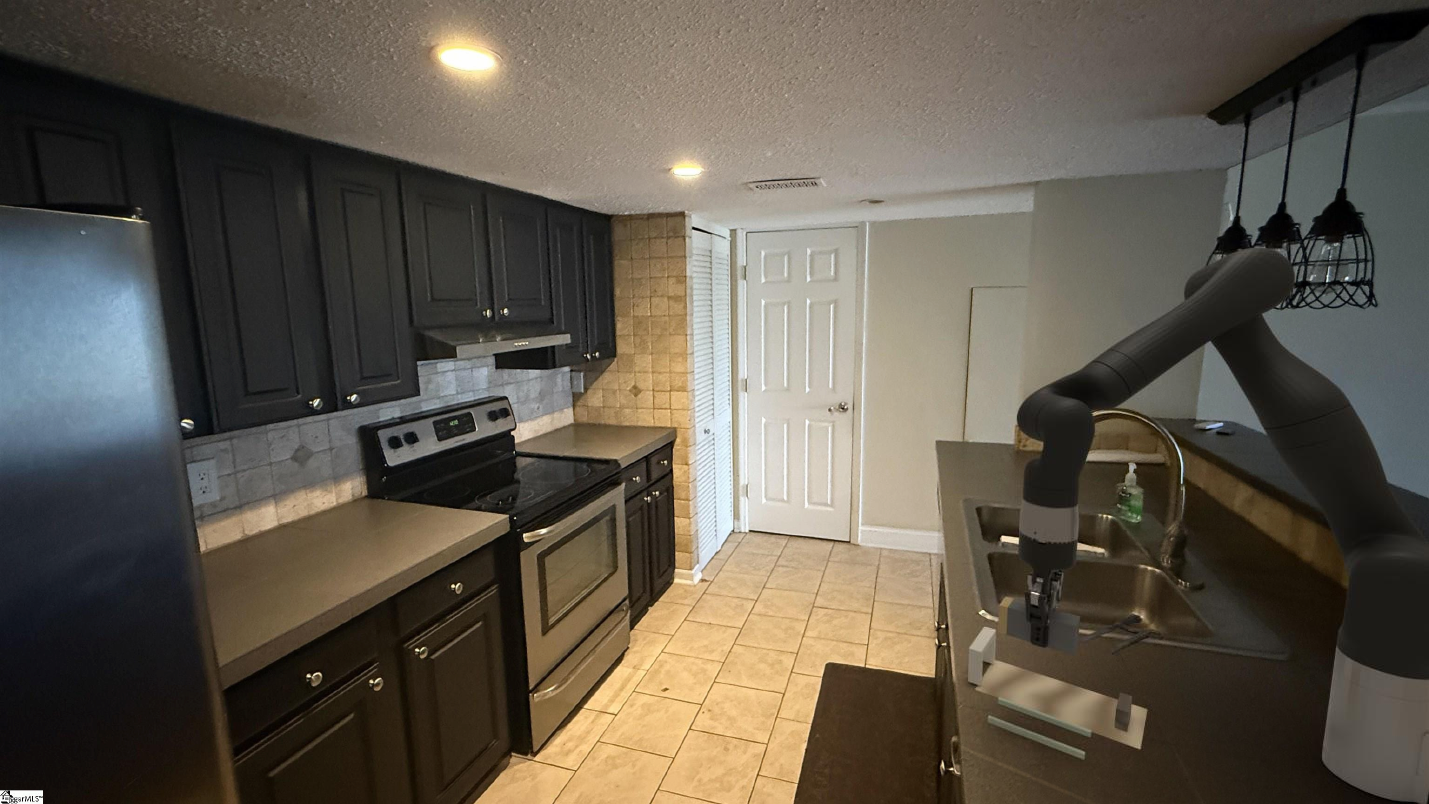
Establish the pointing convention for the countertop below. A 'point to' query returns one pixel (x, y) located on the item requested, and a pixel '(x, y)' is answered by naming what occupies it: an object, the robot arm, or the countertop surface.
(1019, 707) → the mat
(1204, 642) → the countertop surface
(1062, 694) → the flat beige board
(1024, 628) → the long gray brick
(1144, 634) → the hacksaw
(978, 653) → the strap
